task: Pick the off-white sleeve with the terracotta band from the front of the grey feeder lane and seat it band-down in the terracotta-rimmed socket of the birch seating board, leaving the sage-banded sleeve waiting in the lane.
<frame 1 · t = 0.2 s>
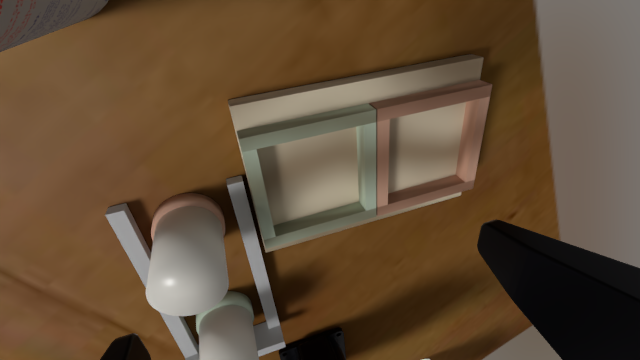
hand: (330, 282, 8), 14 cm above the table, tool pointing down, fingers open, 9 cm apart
feeder lane: (209, 273, 25), on the table
seating board: (361, 152, 24), on the table
terracotta-banded sleeve: (189, 221, 22), on the table
sage-banded sleeve: (224, 310, 27), resting in feeder lane
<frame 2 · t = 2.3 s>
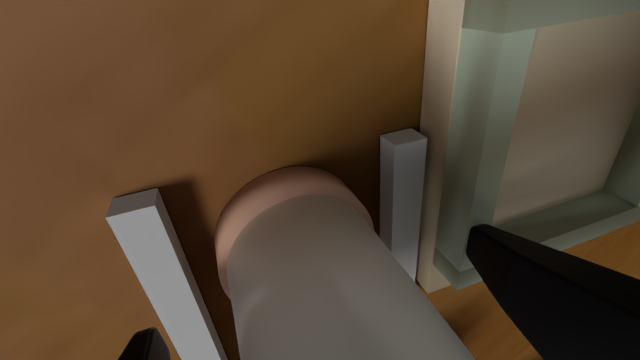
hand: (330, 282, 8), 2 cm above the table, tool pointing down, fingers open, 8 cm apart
feeder lane: (308, 333, 13), on the table
seating board: (617, 91, 12), on the table
terracotta-banded sleeve: (290, 231, 10), on the table
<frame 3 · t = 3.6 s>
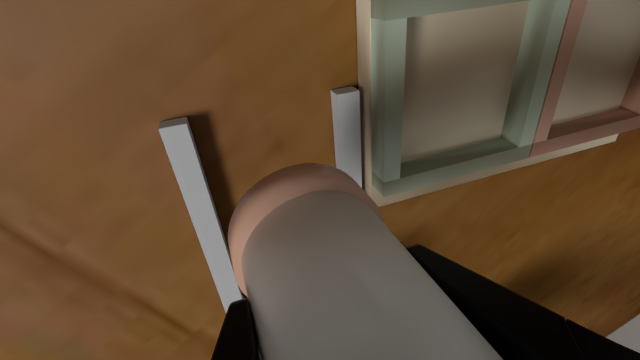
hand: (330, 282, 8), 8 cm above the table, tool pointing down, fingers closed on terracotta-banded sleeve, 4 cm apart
feeder lane: (287, 239, 18), on the table
seating board: (508, 66, 17), on the table
terracotta-banded sleeve: (301, 228, 10), point 6 cm above the table, touching gripper
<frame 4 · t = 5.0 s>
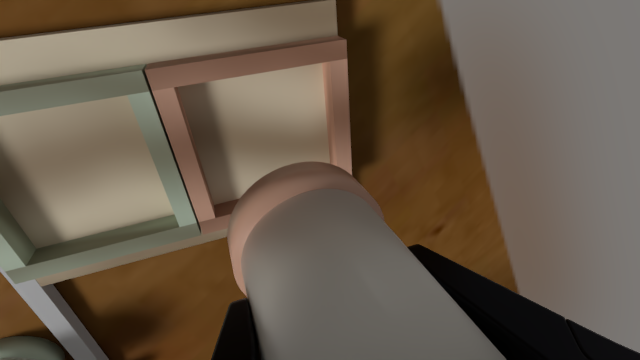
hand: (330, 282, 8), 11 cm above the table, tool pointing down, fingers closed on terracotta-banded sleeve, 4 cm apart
seating board: (179, 143, 17), on the table
terracotta-banded sleeve: (301, 226, 10), point 9 cm above the table, touching gripper
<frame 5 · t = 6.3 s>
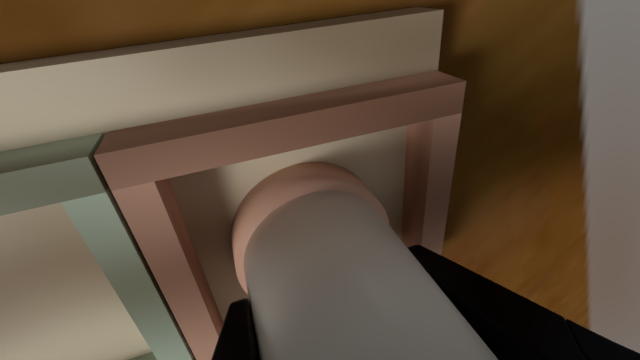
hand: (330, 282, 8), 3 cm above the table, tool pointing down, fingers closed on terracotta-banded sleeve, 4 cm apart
seating board: (169, 239, 10), on the table
terracotta-banded sleeve: (305, 227, 10), point 1 cm above the table, touching gripper, seating board
when the fingers open (3 cm above the table, at t = 6.6 s): terracotta-banded sleeve stays where it is, resting on seating board.
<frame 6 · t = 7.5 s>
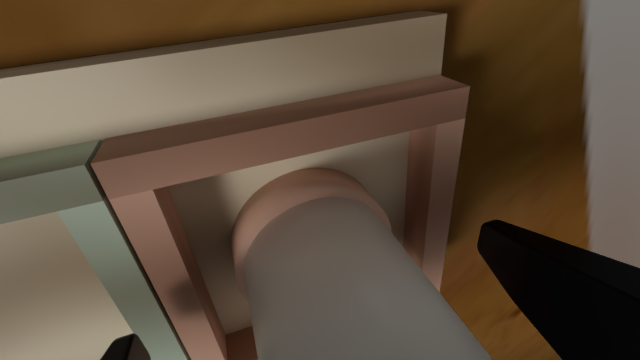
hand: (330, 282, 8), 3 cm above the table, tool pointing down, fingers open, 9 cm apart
seating board: (168, 245, 10), on the table
terracotta-banded sleeve: (306, 233, 10), point 1 cm above the table, touching seating board
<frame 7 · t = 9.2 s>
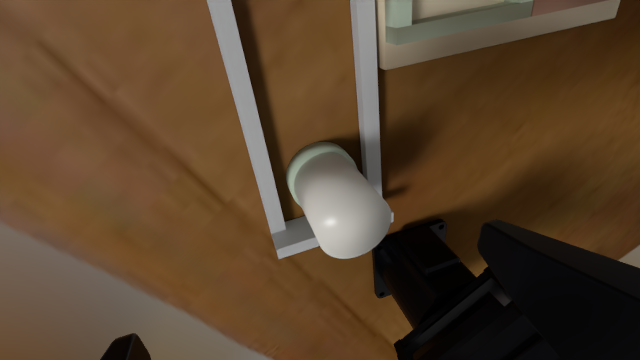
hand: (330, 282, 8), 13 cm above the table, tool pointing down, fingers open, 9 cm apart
feeder lane: (309, 107, 19), on the table
sage-banded sleeve: (319, 172, 22), resting in feeder lane
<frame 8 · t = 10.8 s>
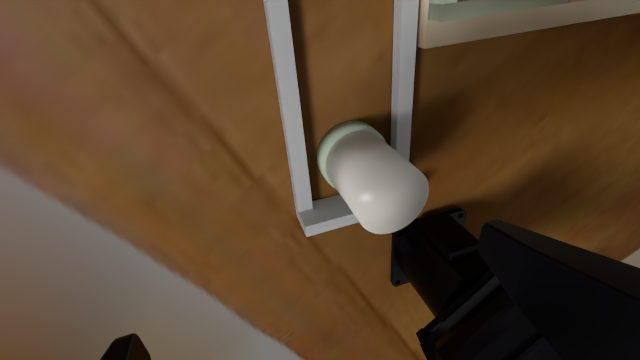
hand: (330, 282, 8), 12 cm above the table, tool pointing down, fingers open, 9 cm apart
feeder lane: (345, 83, 19), on the table
sage-banded sleeve: (348, 152, 22), resting in feeder lane
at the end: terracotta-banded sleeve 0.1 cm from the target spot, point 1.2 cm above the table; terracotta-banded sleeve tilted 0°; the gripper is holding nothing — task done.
